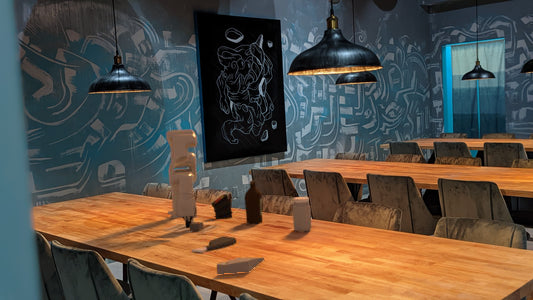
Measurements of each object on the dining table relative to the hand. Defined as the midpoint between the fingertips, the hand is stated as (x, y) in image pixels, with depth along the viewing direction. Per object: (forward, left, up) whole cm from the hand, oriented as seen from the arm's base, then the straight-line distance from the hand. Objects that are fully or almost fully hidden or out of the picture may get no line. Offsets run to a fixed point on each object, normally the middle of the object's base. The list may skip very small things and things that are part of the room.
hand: (188, 227), depth 312 cm
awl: (-5, +11, -1) cm, 12 cm away
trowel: (+58, -61, -3) cm, 85 cm away
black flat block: (+3, +38, -3) cm, 38 cm away
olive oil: (+28, +30, -3) cm, 42 cm away
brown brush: (+30, -30, -3) cm, 43 cm away
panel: (-1, +4, -2) cm, 5 cm away
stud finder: (+5, 0, -1) cm, 5 cm away
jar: (+63, +13, -3) cm, 65 cm away
